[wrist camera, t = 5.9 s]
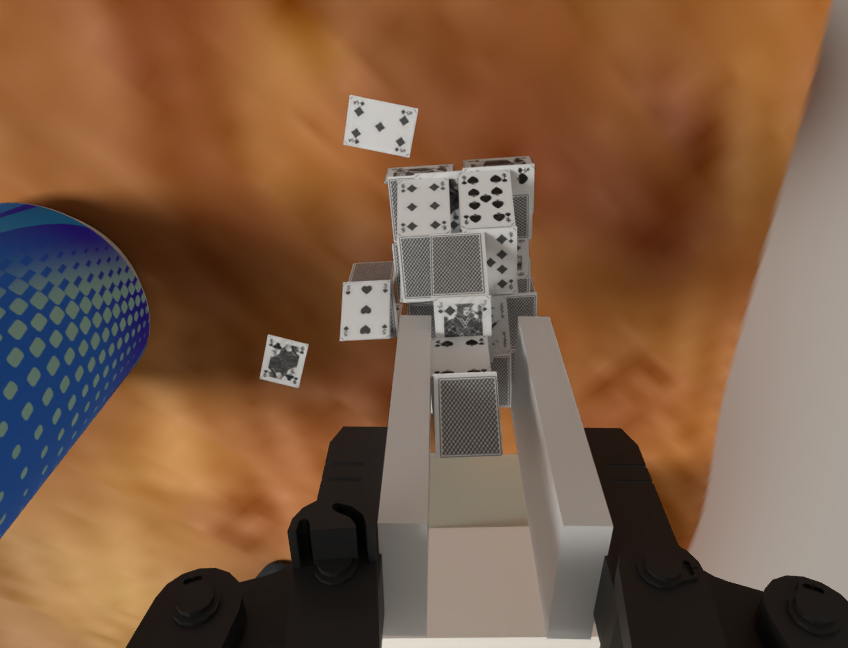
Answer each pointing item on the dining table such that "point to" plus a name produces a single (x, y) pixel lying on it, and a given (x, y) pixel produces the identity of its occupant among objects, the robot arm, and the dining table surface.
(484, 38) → the dining table surface
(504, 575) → the tower top block
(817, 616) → the robot arm
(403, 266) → the house of cards
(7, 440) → the beer can
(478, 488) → the tower bottom block
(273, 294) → the dining table surface
